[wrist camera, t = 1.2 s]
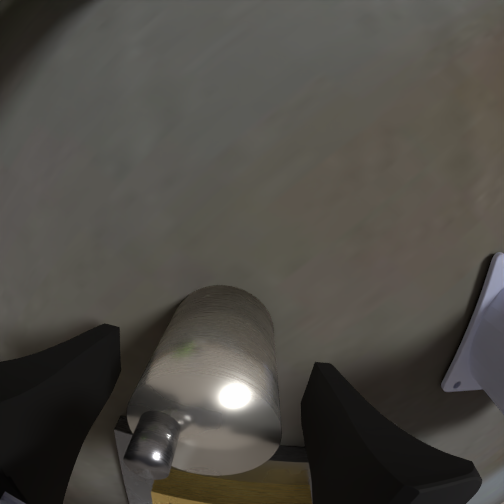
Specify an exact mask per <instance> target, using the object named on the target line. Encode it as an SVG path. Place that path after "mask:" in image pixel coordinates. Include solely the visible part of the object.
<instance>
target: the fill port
mask: <svg viewBox="0 0 504 504" xmlns="http://www.w3.org/2000/svg"><path fill="white" fill-rule="evenodd" d="M114 432H115V439H116V444H117V450H118V455H119V460H120V465H121V470H122V475H123V479H124V484H125V488H126V492H127V496H128V500H129V504H313V501H312V481H311V473H310V468H309V462H308V457H307V452H306V447H291V446H279V447H278V449H277V451H276V452H275V453H274V455H273V456H272V457H271V458H270V459H269V460H268V461H266V462H265V463H263V464H262V465H260V466H258V467H256V468H254V469H252V470H249V471H246V472H243V473H238V474H233V475H223V476H213V475H202V474H196V473H191V472H187V471H184V470H181V469H178V468H175V467H173V466H171V469H170V473H169V476H168V477H167V478H165V479H161V480H153V479H148V478H144V477H141V476H139V475H137V474H135V473H134V472H132V471H131V470H130V469H128V468H127V466H126V465H125V464H124V461H123V457H124V455H125V452H126V450H127V448H128V445H129V443H130V440H131V438H132V436H133V433H132V431H131V430H130V427H129V424H128V420H127V417H123V416H120V418H119V420H118V423H117V425H116V427H115V429H114Z"/></svg>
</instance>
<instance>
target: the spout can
mask: <svg viewBox="0 0 504 504" xmlns="http://www.w3.org/2000/svg"><path fill="white" fill-rule="evenodd" d="M127 420H128V424H129V427H130V430H131V431H132V433H133V436H132V438H131V440H130V443H129V445H128V448H127V450H126V452H125V455H124V457H123V461H124V464H125V465H126V466H127V468H128V469H130V470H131V471H132V472H134V473H135V474H137V475H139V476H141V477H144V478H148V479H153V480H161V479H165V478H167V477H168V476H169V473H170V469H171V466H173V467H175V468H178V469H181V470H184V471H187V472H191V473H196V474H202V475H213V476H223V475H233V474H238V473H243V472H246V471H249V470H252V469H254V468H256V467H258V466H260V465H262V464H263V463H265V462H266V461H268V460H269V459H270V458H271V457H272V456H273V455H274V453H275V452H276V451H277V449H278V447H279V445H280V441H281V434H282V431H281V417H280V403H279V390H278V376H277V363H276V351H275V338H274V327H273V322H272V319H271V316H270V314H269V312H268V310H267V309H266V307H265V306H264V305H263V304H262V303H261V301H259V300H258V299H257V298H256V297H255V296H253V295H252V294H250V293H248V292H246V291H244V290H242V289H239V288H236V287H232V286H226V285H214V286H208V287H204V288H201V289H198V290H196V291H194V292H193V293H191V294H190V295H188V296H187V297H186V298H185V299H184V300H183V301H182V302H181V303H180V305H179V306H178V308H177V310H176V312H175V314H174V316H173V317H172V319H171V321H170V323H169V325H168V327H167V329H166V331H165V332H164V334H163V336H162V338H161V340H160V342H159V344H158V346H157V348H156V350H155V352H154V353H153V355H152V357H151V359H150V361H149V363H148V365H147V367H146V369H145V371H144V373H143V375H142V377H141V379H140V381H139V383H138V385H137V387H136V389H135V391H134V393H133V395H132V397H131V399H130V401H129V403H128V407H127Z"/></svg>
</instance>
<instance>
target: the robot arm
mask: <svg viewBox="0 0 504 504" xmlns="http://www.w3.org/2000/svg"><path fill="white" fill-rule="evenodd" d="M120 372H121V361H120V330H119V327H117V326H113V325H109V324H102V325H100V326H97V327H95V328H93V329H91V330H89V331H87V332H85V333H83V334H81V335H79V336H76V337H74V338H72V339H70V340H68V341H66V342H63V343H61V344H59V345H56V346H54V347H51V348H49V349H46V350H44V351H41V352H38V353H35V354H32V355H29V356H25V357H22V358H18V359H13V360H8V361H3V362H0V504H63V500H64V496H65V493H66V489H67V486H68V482H69V479H70V476H71V473H72V470H73V467H74V465H75V462H76V459H77V457H78V454H79V452H80V449H81V447H82V444H83V442H84V440H85V438H86V436H87V434H88V432H89V430H90V428H91V427H92V425H93V423H94V422H95V420H96V418H97V416H98V415H99V413H100V411H101V410H102V408H103V406H104V405H105V403H106V401H107V400H108V398H109V396H110V395H111V393H112V391H113V389H114V386H115V384H116V382H117V379H118V377H119V374H120ZM441 387H442V389H443V390H444V391H445V392H455V391H470V390H482V389H483V390H484V391H485V392H486V393H487V395H488V396H489V397H490V398H491V400H492V401H493V402H494V403H495V405H496V406H497V407H498V408H499V410H500V411H501V412H502V413H503V415H504V253H501V252H497V253H496V254H495V255H494V256H493V258H492V260H491V263H490V267H489V270H488V273H487V276H486V279H485V282H484V285H483V288H482V291H481V294H480V297H479V300H478V302H477V305H476V308H475V310H474V313H473V315H472V318H471V320H470V323H469V325H468V328H467V330H466V332H465V335H464V337H463V339H462V342H461V344H460V346H459V348H458V350H457V353H456V355H455V357H454V359H453V361H452V363H451V365H450V367H449V369H448V371H447V373H446V375H445V377H444V379H443V381H442V383H441ZM301 422H302V430H303V436H304V441H305V446H306V452H307V457H308V462H309V468H310V473H311V481H312V501H313V504H466V503H467V502H468V501H469V500H470V499H471V498H472V497H473V496H474V495H475V494H476V493H477V491H478V490H479V488H480V486H481V484H482V479H481V477H480V475H479V473H478V471H477V470H476V468H475V466H474V464H473V462H472V461H469V460H466V459H463V458H460V457H457V456H453V455H450V454H448V453H445V452H443V451H440V450H438V449H436V448H434V447H431V446H429V445H427V444H425V443H424V442H422V441H420V440H418V439H416V438H415V437H413V436H411V435H410V434H408V433H406V432H405V431H403V430H402V429H400V428H399V427H397V426H396V425H395V424H393V423H392V422H391V421H389V420H388V419H387V418H385V417H384V416H383V415H382V414H380V413H379V412H378V411H377V410H376V409H375V408H374V407H373V406H372V405H370V404H369V403H368V402H367V401H366V400H365V399H364V398H363V397H362V396H361V395H360V394H359V393H358V392H357V391H356V390H355V389H354V388H353V387H352V386H351V384H350V383H349V382H348V381H347V380H346V379H345V378H344V377H343V376H342V375H341V374H340V373H339V371H338V370H337V369H336V368H335V367H334V366H333V365H332V364H330V363H320V362H315V364H314V367H313V370H312V373H311V375H310V378H309V381H308V384H307V387H306V390H305V393H304V395H303V398H302V401H301Z"/></svg>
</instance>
